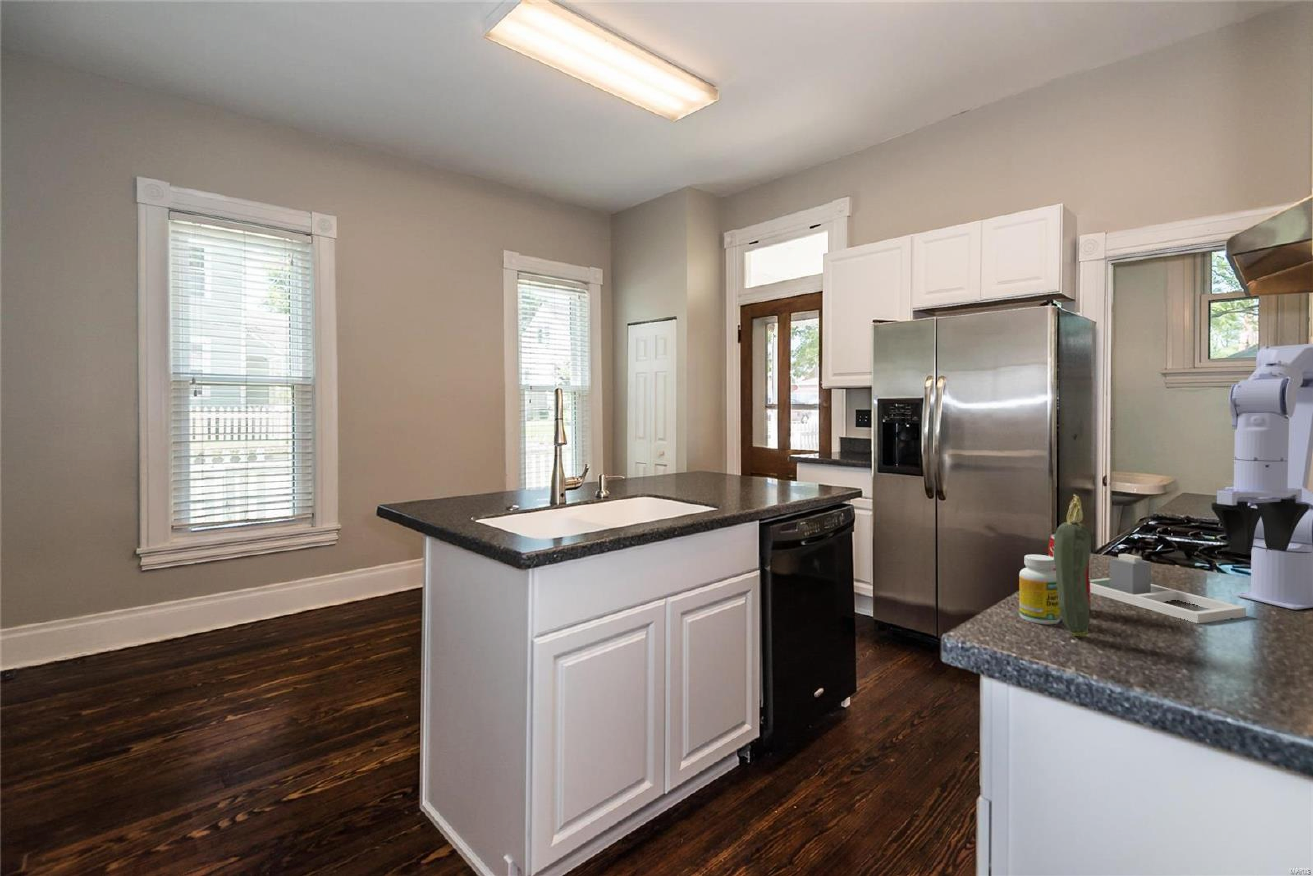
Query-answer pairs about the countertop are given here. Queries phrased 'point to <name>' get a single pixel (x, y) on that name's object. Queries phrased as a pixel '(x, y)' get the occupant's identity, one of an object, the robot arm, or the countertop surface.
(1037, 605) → the supplement bottle
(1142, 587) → the plug
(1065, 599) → the vegetable
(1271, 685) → the countertop surface
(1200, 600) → the frame
